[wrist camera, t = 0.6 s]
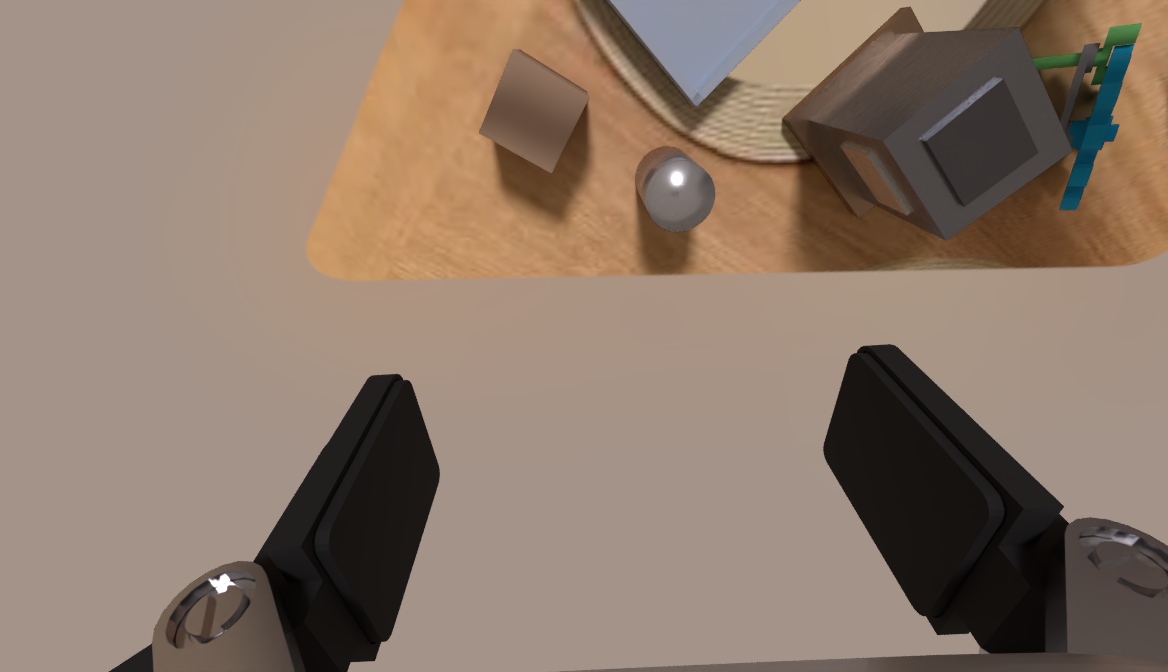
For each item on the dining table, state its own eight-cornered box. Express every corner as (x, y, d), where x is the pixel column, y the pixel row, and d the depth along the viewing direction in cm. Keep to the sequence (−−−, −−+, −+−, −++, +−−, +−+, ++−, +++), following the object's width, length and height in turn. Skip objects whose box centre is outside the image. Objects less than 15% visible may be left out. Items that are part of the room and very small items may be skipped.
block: (520, 49, 31) (512, 49, 26) (586, 91, 32) (589, 97, 28) (490, 122, 33) (478, 132, 29) (553, 158, 34) (551, 173, 30)
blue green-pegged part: (1087, 201, 35) (1088, 224, 29) (987, 198, 39) (967, 217, 33) (1149, 30, 31) (1166, 11, 25) (1029, 45, 35) (1016, 32, 28)
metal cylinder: (667, 132, 34) (685, 147, 28) (705, 176, 35) (728, 197, 30) (623, 178, 35) (632, 200, 30) (661, 218, 37) (676, 245, 32)
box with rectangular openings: (900, 7, 30) (1038, -11, 21) (964, 125, 34) (1103, 151, 25) (782, 118, 33) (859, 142, 24) (852, 214, 37) (941, 264, 28)
